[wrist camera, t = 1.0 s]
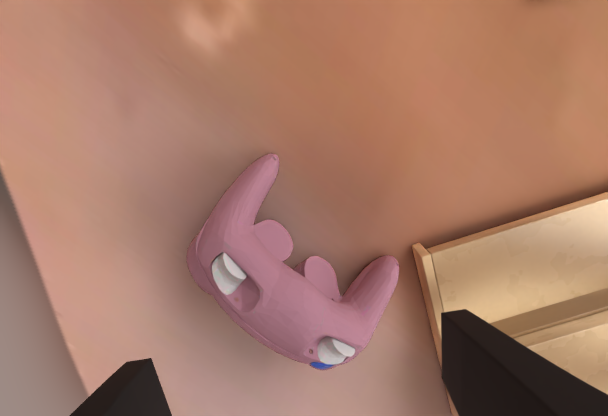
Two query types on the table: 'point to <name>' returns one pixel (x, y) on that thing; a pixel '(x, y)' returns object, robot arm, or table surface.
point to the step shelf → (531, 285)
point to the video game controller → (284, 280)
